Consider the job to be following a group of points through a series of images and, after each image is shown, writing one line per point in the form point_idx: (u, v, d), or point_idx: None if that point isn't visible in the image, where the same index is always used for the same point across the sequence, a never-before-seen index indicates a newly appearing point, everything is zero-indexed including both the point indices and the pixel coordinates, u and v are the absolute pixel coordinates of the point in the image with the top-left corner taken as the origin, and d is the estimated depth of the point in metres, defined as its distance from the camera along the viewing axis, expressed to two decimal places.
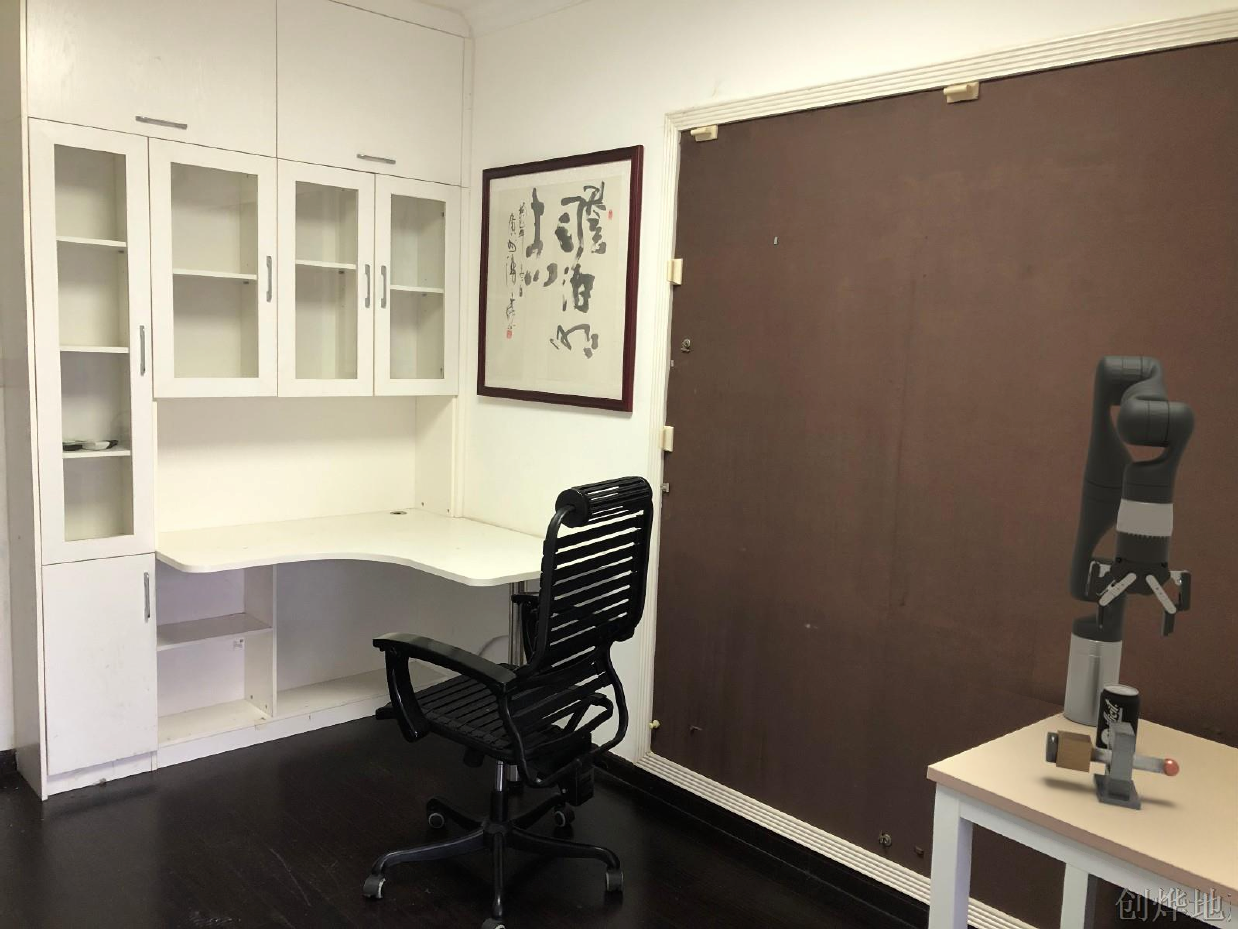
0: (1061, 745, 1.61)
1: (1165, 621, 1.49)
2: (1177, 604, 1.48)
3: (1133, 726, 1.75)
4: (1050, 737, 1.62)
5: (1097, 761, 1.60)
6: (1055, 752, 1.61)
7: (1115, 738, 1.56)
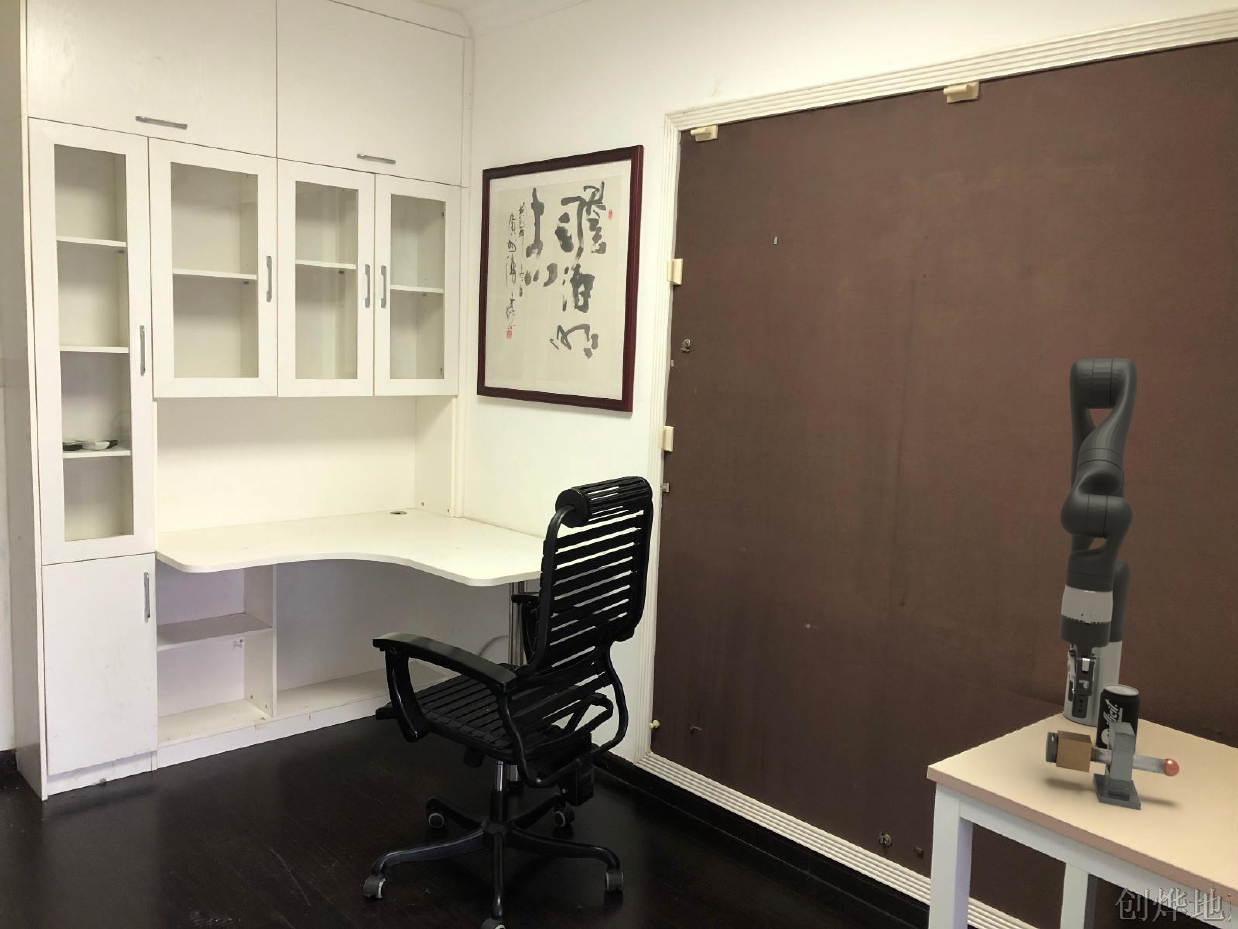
0: (1061, 745, 1.61)
1: None
2: None
3: (1133, 726, 1.75)
4: (1050, 737, 1.62)
5: (1097, 761, 1.60)
6: (1055, 752, 1.61)
7: (1115, 738, 1.56)
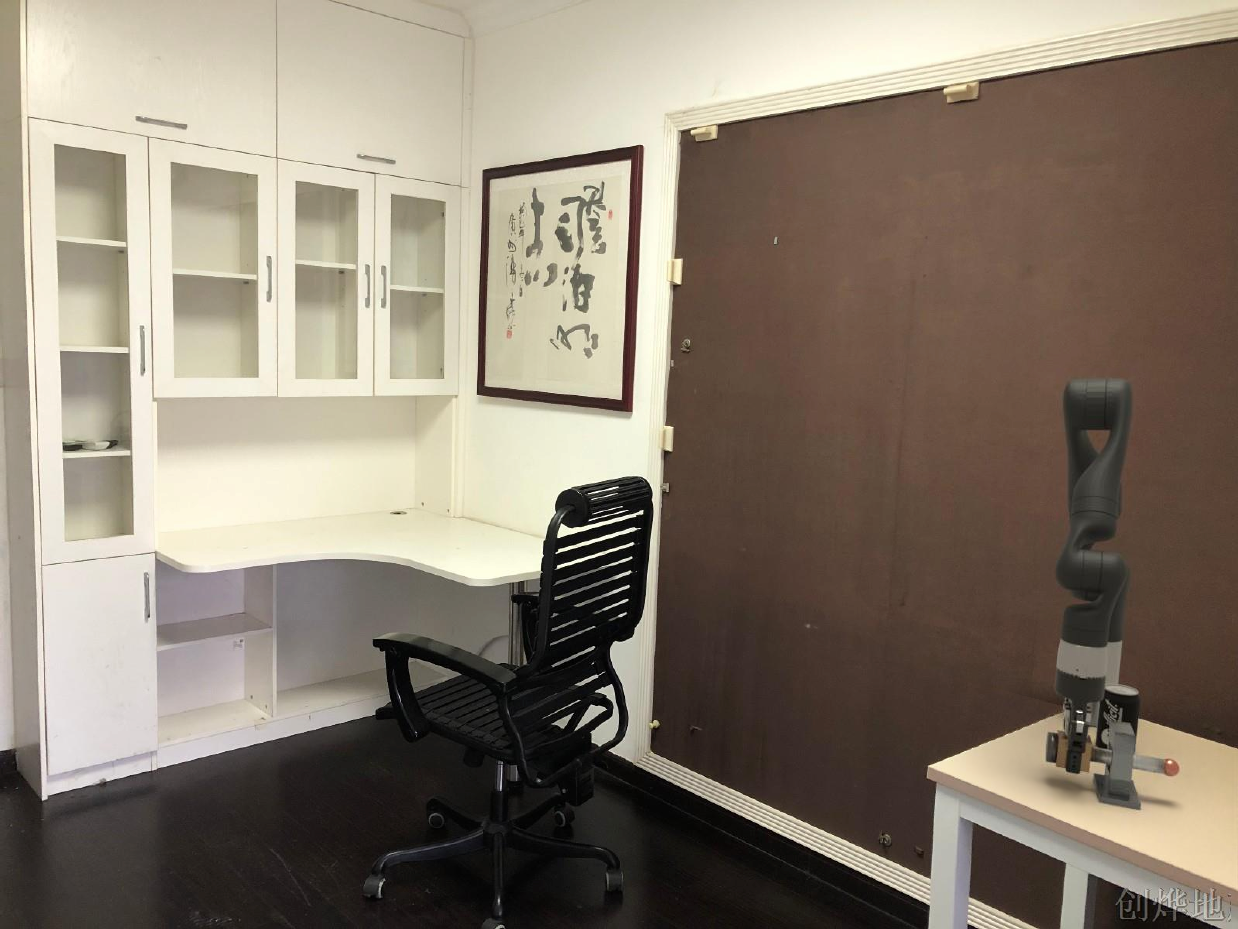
0: (1061, 745, 1.61)
1: None
2: None
3: (1133, 726, 1.75)
4: (1050, 737, 1.62)
5: (1097, 761, 1.60)
6: (1055, 752, 1.61)
7: (1115, 738, 1.56)
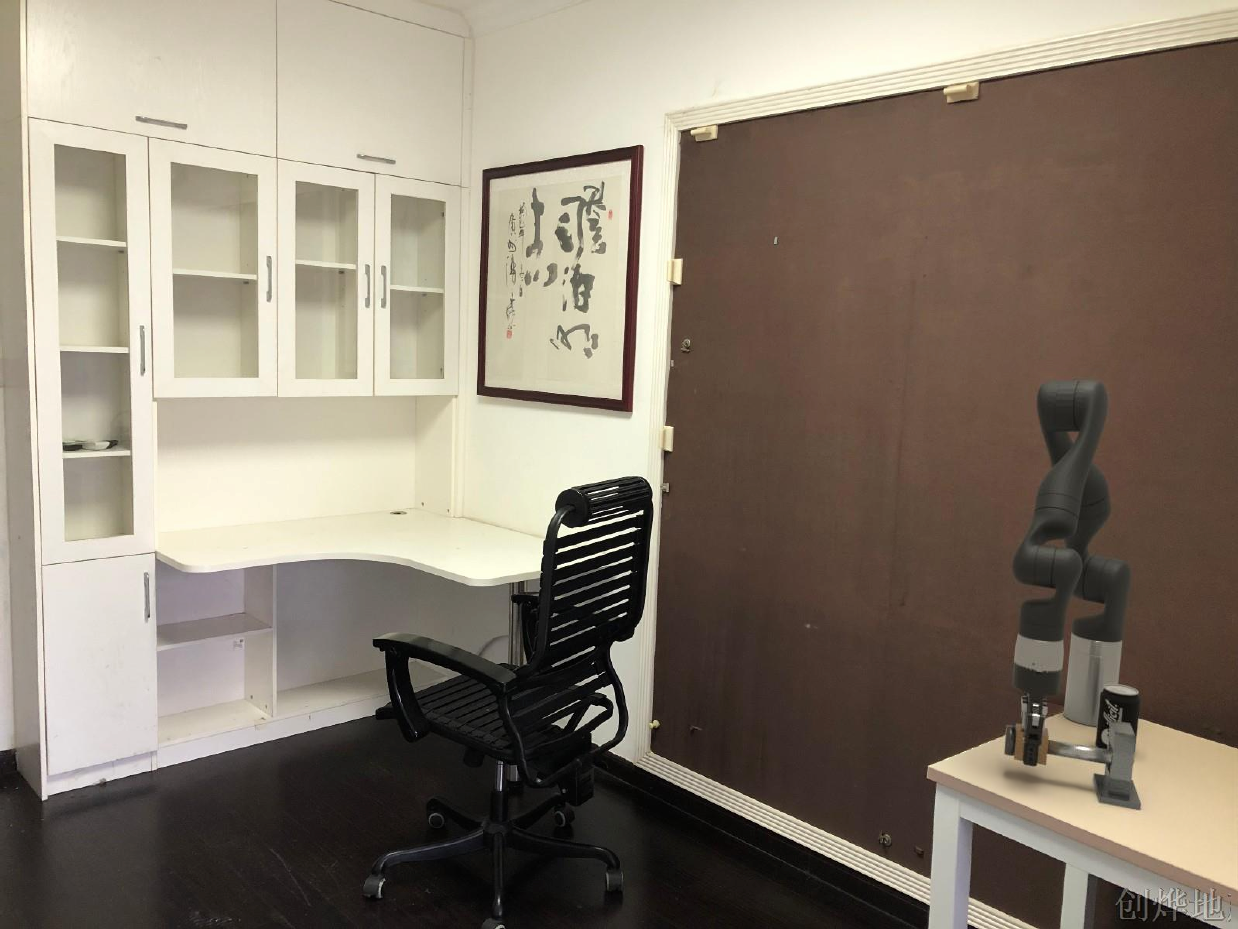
0: (1018, 738, 1.63)
1: None
2: None
3: (1133, 726, 1.75)
4: (1008, 730, 1.64)
5: (1054, 754, 1.62)
6: (1013, 745, 1.63)
7: (1115, 738, 1.56)
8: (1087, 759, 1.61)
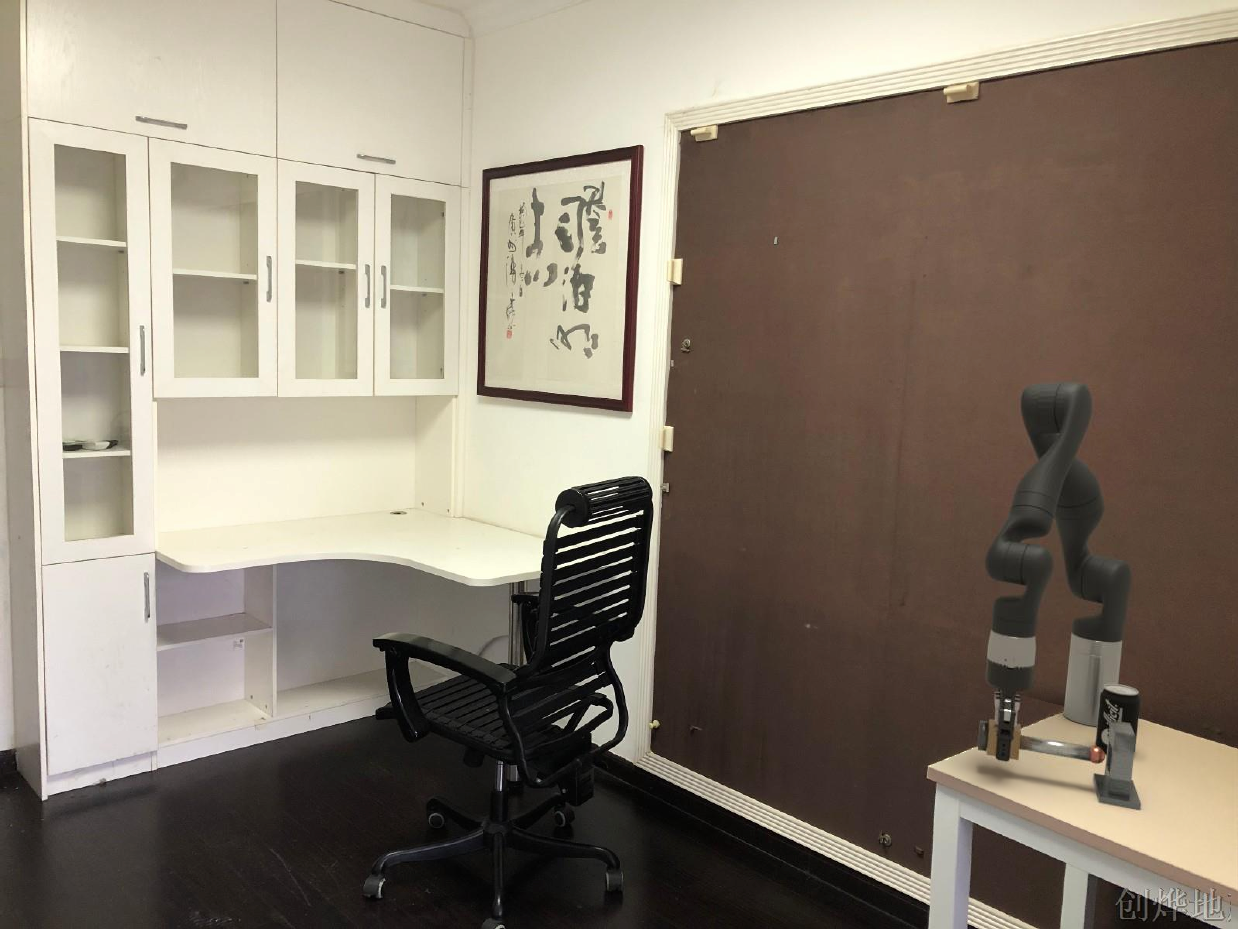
0: (991, 734, 1.65)
1: None
2: None
3: (1133, 726, 1.75)
4: (981, 726, 1.66)
5: (1026, 749, 1.64)
6: (985, 740, 1.65)
7: (1115, 738, 1.56)
8: (1059, 754, 1.62)
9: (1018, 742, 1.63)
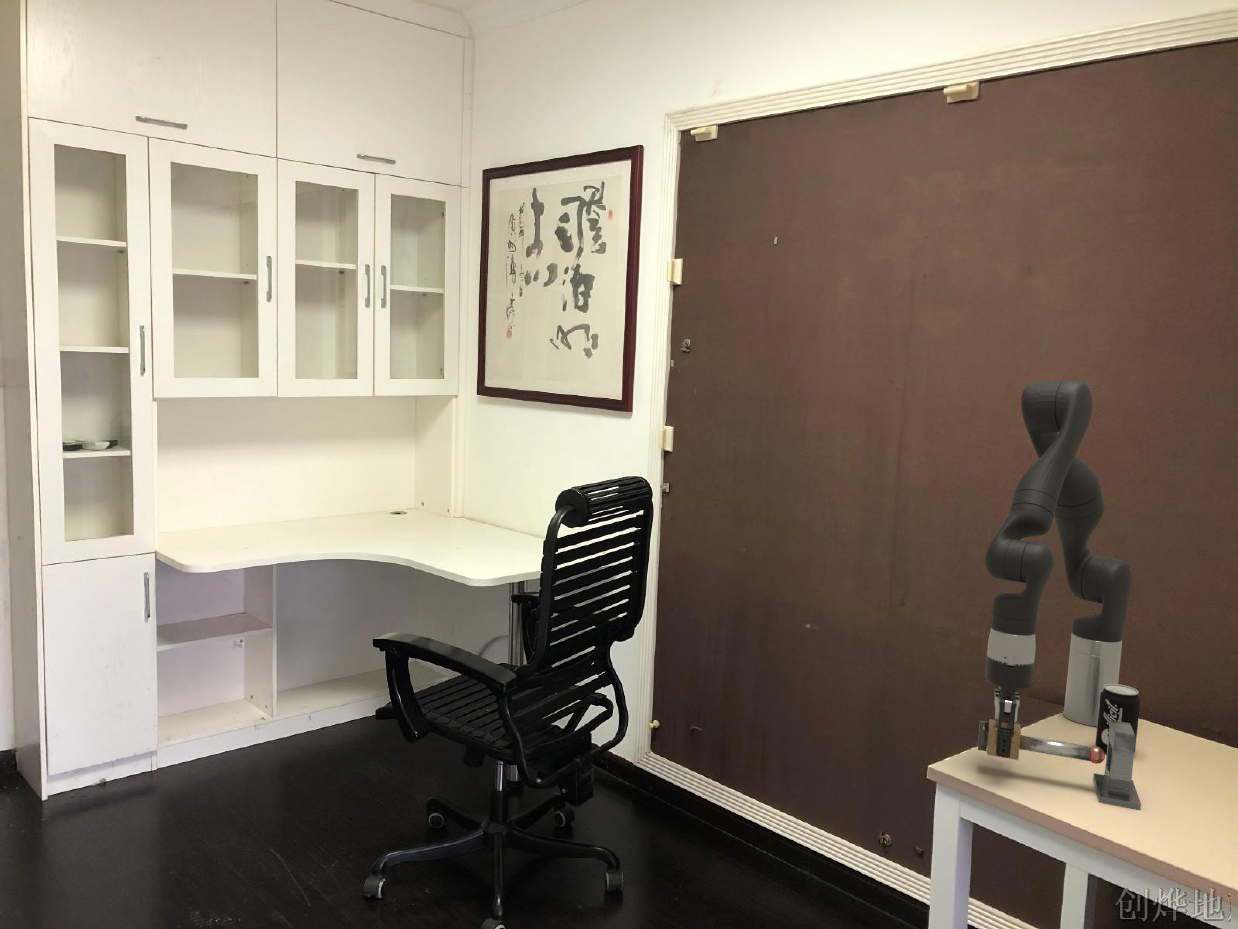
0: (991, 734, 1.65)
1: None
2: None
3: (1133, 726, 1.75)
4: (981, 726, 1.66)
5: (1026, 749, 1.64)
6: (985, 740, 1.65)
7: (1115, 738, 1.56)
8: (1059, 754, 1.62)
9: (1018, 742, 1.63)
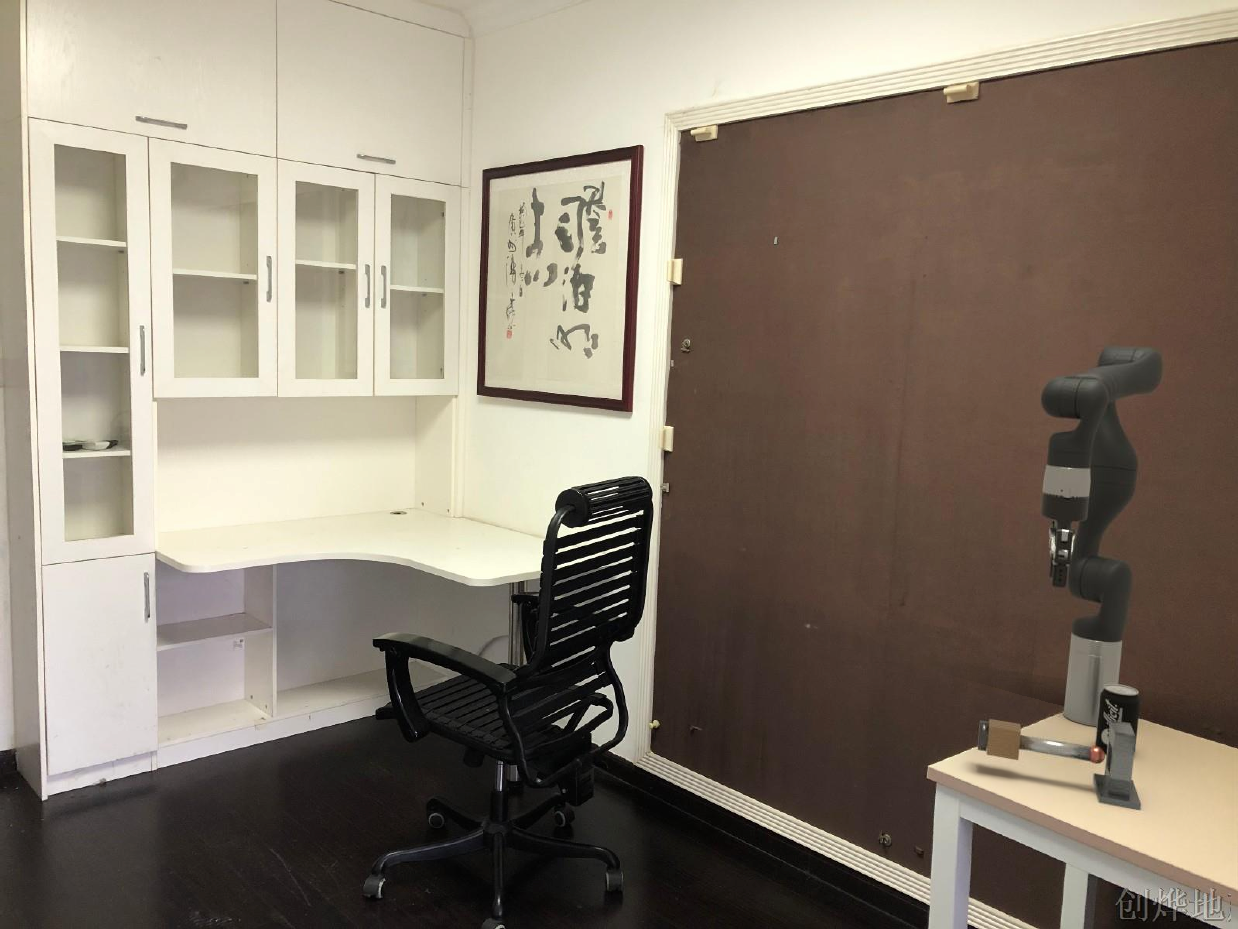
0: (991, 734, 1.65)
1: None
2: None
3: (1133, 726, 1.75)
4: (981, 726, 1.66)
5: (1026, 749, 1.64)
6: (985, 740, 1.65)
7: (1115, 738, 1.56)
8: (1059, 754, 1.62)
9: (1018, 742, 1.63)
